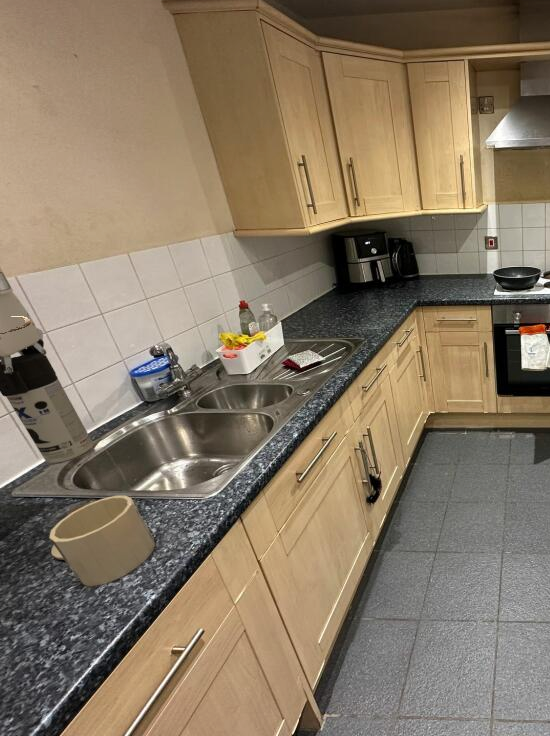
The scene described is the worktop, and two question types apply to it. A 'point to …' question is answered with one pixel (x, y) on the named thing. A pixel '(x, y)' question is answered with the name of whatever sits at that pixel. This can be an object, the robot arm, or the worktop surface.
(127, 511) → the pot
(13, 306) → the robot arm
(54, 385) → the spray can
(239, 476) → the worktop surface
